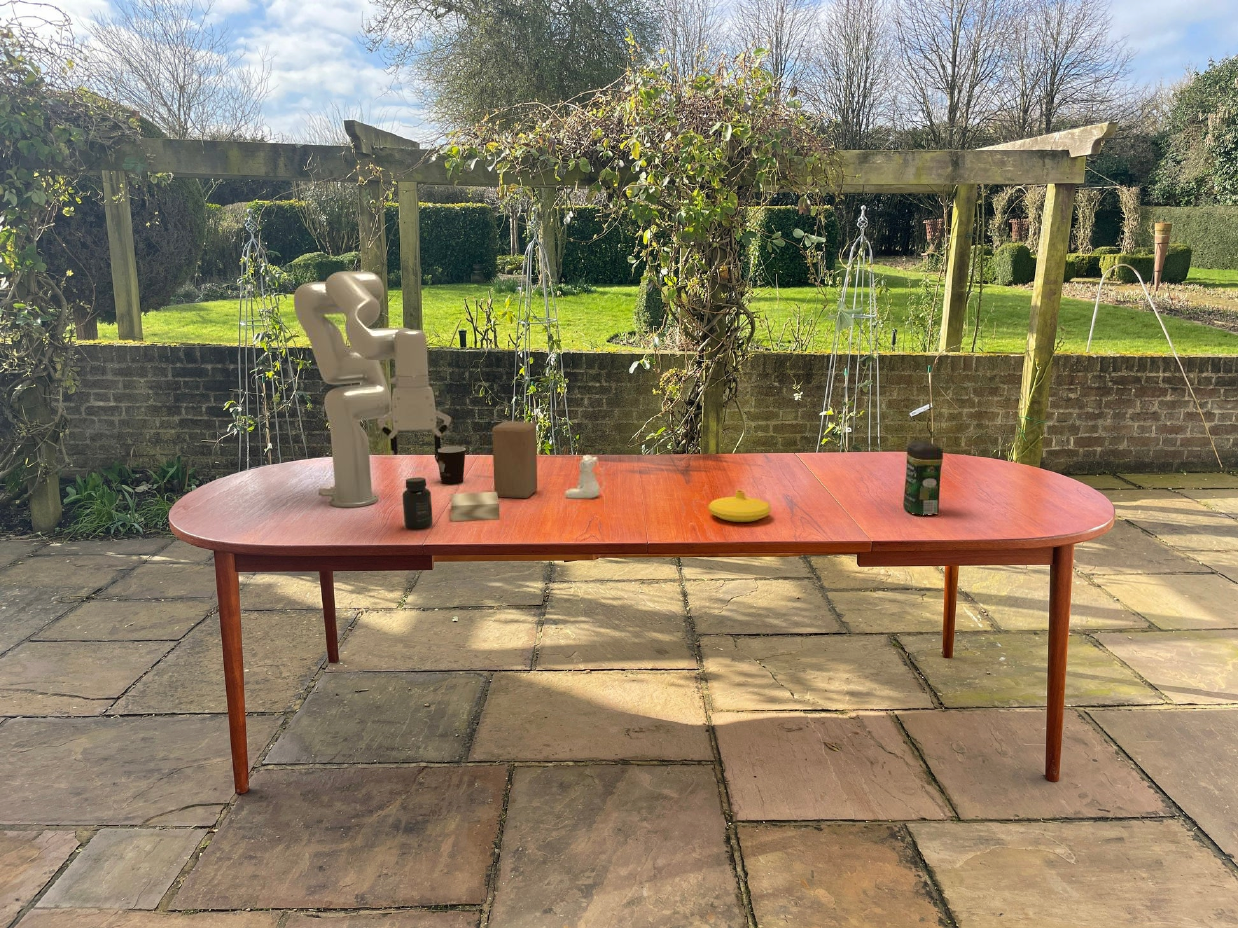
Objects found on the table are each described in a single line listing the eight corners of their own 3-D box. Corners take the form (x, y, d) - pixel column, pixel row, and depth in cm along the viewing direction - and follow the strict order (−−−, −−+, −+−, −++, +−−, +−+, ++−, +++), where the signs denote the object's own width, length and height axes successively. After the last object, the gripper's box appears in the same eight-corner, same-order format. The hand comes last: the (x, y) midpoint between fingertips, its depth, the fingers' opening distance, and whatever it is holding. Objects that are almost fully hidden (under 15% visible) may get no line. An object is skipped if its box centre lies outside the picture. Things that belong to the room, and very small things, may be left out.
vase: (722, 529, 209) (723, 501, 207) (698, 512, 224) (699, 486, 222) (781, 524, 213) (782, 496, 212) (754, 507, 228) (755, 482, 226)
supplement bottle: (435, 522, 215) (432, 475, 212) (430, 530, 208) (427, 482, 205) (407, 522, 214) (404, 476, 212) (401, 530, 208) (398, 482, 205)
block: (527, 499, 236) (526, 428, 232) (493, 497, 238) (490, 426, 234) (538, 490, 246) (536, 421, 241) (505, 488, 248) (503, 420, 243)
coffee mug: (469, 484, 253) (468, 451, 251) (440, 487, 250) (438, 453, 248) (461, 475, 264) (460, 443, 261) (433, 478, 261) (431, 446, 258)
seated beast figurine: (582, 490, 246) (582, 449, 243) (608, 494, 241) (607, 452, 239) (563, 497, 238) (563, 455, 235) (589, 502, 234) (589, 459, 231)
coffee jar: (898, 507, 228) (903, 438, 224) (928, 506, 228) (933, 438, 224) (911, 517, 219) (917, 446, 214) (942, 517, 219) (948, 445, 215)
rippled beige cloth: (451, 521, 216) (450, 505, 215) (451, 508, 227) (450, 494, 226) (499, 518, 218) (499, 503, 217) (497, 506, 229) (496, 491, 228)
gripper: (373, 385, 199) (378, 457, 202) (449, 383, 202) (453, 454, 206) (375, 381, 206) (380, 451, 209) (449, 379, 209) (452, 448, 213)
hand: (416, 452), depth 208 cm, fingers open, 9 cm apart
